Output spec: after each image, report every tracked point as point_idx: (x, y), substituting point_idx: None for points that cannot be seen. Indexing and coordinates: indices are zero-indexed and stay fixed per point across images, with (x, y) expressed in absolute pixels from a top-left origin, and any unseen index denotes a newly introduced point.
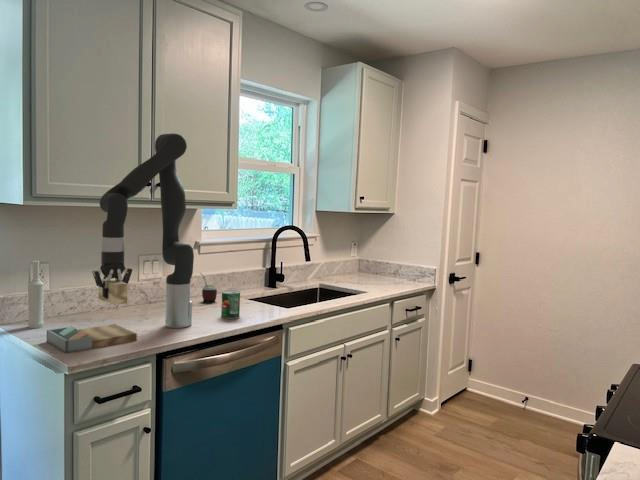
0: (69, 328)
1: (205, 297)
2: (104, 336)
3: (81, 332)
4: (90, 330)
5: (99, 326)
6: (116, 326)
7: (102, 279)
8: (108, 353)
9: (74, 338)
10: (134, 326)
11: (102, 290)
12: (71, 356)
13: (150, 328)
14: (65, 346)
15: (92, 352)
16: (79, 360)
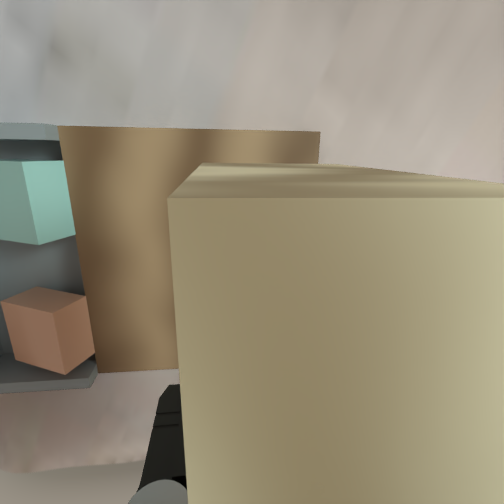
0: (12, 189)
1: None
2: (169, 335)
3: (50, 331)
4: (151, 191)
5: (226, 132)
6: None
7: (259, 363)
8: (141, 428)
9: (20, 338)
10: (425, 115)
11: (145, 462)
12: (14, 399)
13: None
14: None
15: (96, 394)
16: (31, 448)
